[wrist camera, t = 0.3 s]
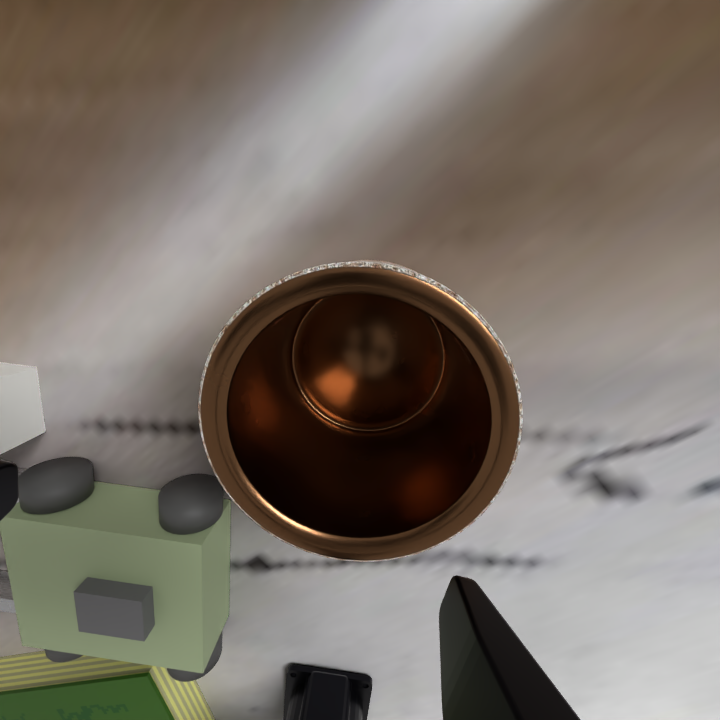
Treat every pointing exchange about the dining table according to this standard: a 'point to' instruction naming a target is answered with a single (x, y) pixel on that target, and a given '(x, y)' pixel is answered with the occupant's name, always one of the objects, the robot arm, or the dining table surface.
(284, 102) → the dining table surface
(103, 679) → the hardcover book
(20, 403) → the chute block
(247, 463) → the planter
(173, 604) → the green wheeled cart
